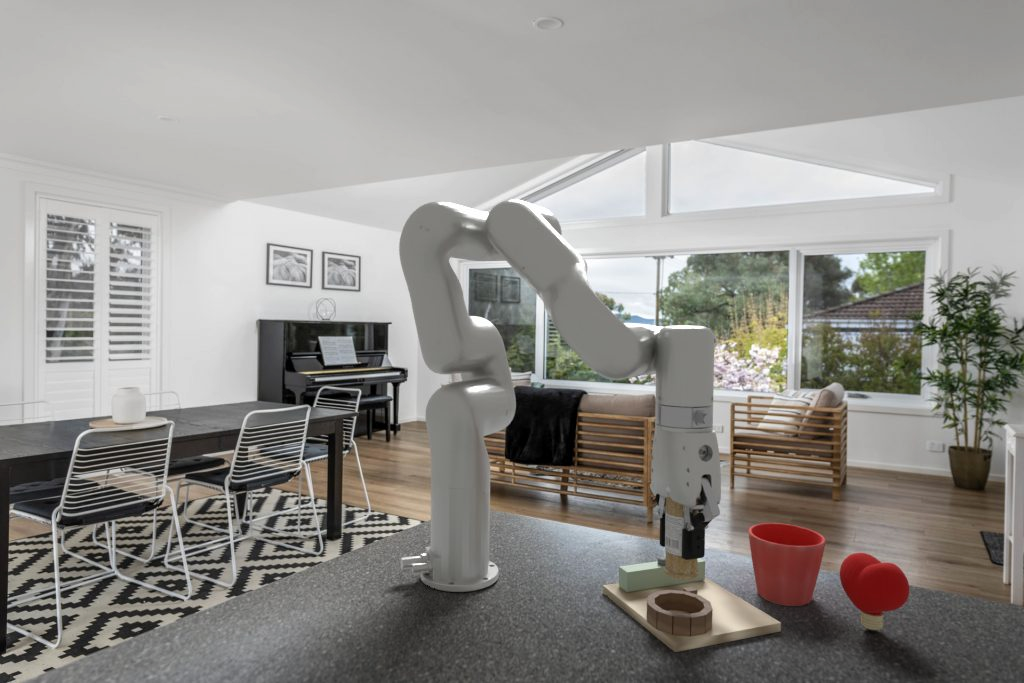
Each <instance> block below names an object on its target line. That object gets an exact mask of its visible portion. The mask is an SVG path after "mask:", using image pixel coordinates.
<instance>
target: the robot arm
mask: <svg viewBox="0 0 1024 683" xmlns="http://www.w3.org/2000/svg"><path fill="white" fill-rule="evenodd" d="M401 230H402V231H401V234H400V238H399V245H398V248H399V249H398V253H399V261H400V265H401V269H402V273H403V276H404V280H405V282H406V286H407V290H408V293H409V298H410V302H411V308H412V314H413V319H414V323H415V327H416V332H417V337H418V342H419V348H420V351H421V355H422V359H423V361H424V363H425V365H426V367H427V368H428V369H429V370H430V371H432V372H433V373H435V374H439V375H456V374H457V375H458V374H460V377H461V381H460V380H459V381H454V382H450V383H447V384H445V385H443V386H441V387H439V388H437V389H436V390H435V391H434V392H433V394H431V396H430V398H429V399H428V401H427V403H426V407H425V408H426V409H425V415H424V416H425V425H426V430H427V435H428V436H427V438H428V443H429V449H430V450H429V451H430V546H425V552H421V553H419V555H416V556H414V555H409V556H401V557H400V561H399V563H400V568H401V569H400V570H411V572H412V574H415V573H420V580H421V581H422V583H423V584H425V585H426V586H427V585H428V586H427V587H429V586H430V587H429V588H432V589H434V588H435V590H438V591H442V592H452V593H463V592H465V593H466V592H473V591H480V590H482V589H485V588H488V587H490V586H492V585H493V584H494V583H496V582H497V581H498V579H499V576H500V574H499V572H500V569H499V567H498V565H496V564H495V563H494V562H493V561H491V560H490V536H491V535H490V533H491V532H490V531H491V530H490V529H491V528H490V527H491V526H490V524H491V522H490V521H491V462H490V456H489V453H488V449H487V447H486V442H485V437H486V436H489V435H492V434H495V433H498V432H500V431H503V430H504V429H506V428H507V427H508V426H509V425H510V424H511V422H512V421H513V420H514V417H515V414H516V409H517V401H516V400H517V399H516V398H517V397H516V393H515V388H514V383H513V379H512V373H511V371H510V364H509V360H508V357H507V351H506V347H505V344H504V339H503V337H502V335H501V333H500V332H499V330H498V328H497V327H496V326H495V324H493V323H492V322H491V321H489V319H487V318H484V317H482V316H476V315H469V312H468V309H467V306H466V302H465V297H464V291H463V287H462V286H461V282H460V280H459V278H458V276H457V274H456V273H455V271H454V269H453V267H452V266H451V262H450V259H451V258H453V259H459V260H466V261H467V260H468V261H476V262H507V264H508V265H509V266H510V267H511V268H512V269H514V271H515V272H516V273H517V274H518V275H519V276H520V277H521V279H523V280H524V282H525V283H526V284H527V285H528V286H529V288H531V289H532V291H534V292H535V294H537V296H538V297H539V298H540V300H542V302H543V305H544V309H545V310H546V313H547V316H549V318H550V321H551V323H552V324H553V327H554V328H555V331H557V333H558V334H559V335H560V337H561V338H562V339H563V341H564V342H565V343H566V344H567V345H568V346H569V347H570V348H571V350H572V351H574V353H575V354H576V355H577V356H578V357H579V358H580V359H581V361H583V363H584V364H586V366H587V367H588V368H589V369H591V370H592V371H593V372H594V373H596V374H597V375H599V376H601V377H602V378H604V379H608V380H610V381H611V380H612V381H621V380H627V379H630V378H636V377H640V376H648V375H655V408H654V409H655V415H654V418H655V421H654V427H655V428H654V434H653V440H652V447H651V448H652V449H651V450H652V451H651V463H650V466H651V467H650V481H651V482H650V484H649V489H650V491H651V492H652V494H653V496H654V497H655V501H656V504H657V506H658V507H657V514H658V516H659V545H660V547H662V548H665V512H666V498H667V497H671V499H672V500H673V501H675V502H677V503H678V504H680V505H683V509H684V518H685V526H686V529H682V558H683V559H685V560H690V559H697V558H701V559H703V558H704V557H705V555H706V554H705V553H706V552H705V548H706V545H705V544H706V530H707V529H708V528H709V524H710V523H711V522H712V521H713V520H714V519H715V518H717V517H718V516H720V514H721V510H720V507H719V504H720V503H721V500H722V498H721V497H722V477H721V475H722V474H721V471H722V470H721V459H720V449H719V442H718V438H717V433H716V431H715V430H714V429H713V428H714V427H713V426H714V388H715V387H714V383H715V381H714V380H715V374H714V373H715V334H714V332H713V331H712V329H711V328H709V327H707V326H704V325H703V326H702V325H683V324H682V325H681V324H680V325H666V326H660V325H659V326H657V325H654V324H646V323H638V322H637V323H636V322H623V321H622V320H620V319H619V317H618V316H616V314H614V312H612V311H611V310H610V309H609V307H608V306H607V305H606V304H605V303H604V302H603V301H602V300H601V299H600V298H599V296H598V295H597V294H596V293H595V291H594V290H593V289H592V287H591V285H590V282H589V281H588V276H587V274H588V264H587V262H586V259H585V258H584V257H583V256H582V255H581V254H580V253H579V252H578V251H577V250H576V249H575V248H573V246H572V245H571V244H570V243H569V242H568V241H567V240H566V239H565V238H564V237H563V236H562V226H561V224H560V221H559V220H558V219H557V217H556V215H555V214H554V213H552V212H551V211H550V210H549V209H547V208H545V207H543V206H540V205H537V204H533V203H531V202H528V201H524V200H521V199H516V198H515V199H506V200H503V201H500V202H499V203H497V204H496V205H494V206H493V207H492V208H491V209H490V211H487V210H486V211H485V210H479V209H475V208H472V207H468V206H464V205H461V204H457V203H454V202H447V201H431V202H427V203H424V204H422V205H420V206H419V207H417V208H416V209H415V210H413V212H412V213H411V214H410V215H409V217H408V218H407V220H406V221H405V223H404V225H403V228H402V229H401ZM667 486H668V487H669V488H670V490H671V492H669V491H667V490H666V488H667ZM667 493H669V496H668V494H667ZM696 500H698V504H697V503H696ZM692 510H698V513H697V514H696V515H695V516H694V518H693V512H692Z"/></svg>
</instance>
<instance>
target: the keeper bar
mask: <svg viewBox="0 0 1024 683" xmlns="http://www.w3.org/2000/svg"><path fill="white" fill-rule="evenodd" d="M665 566H666V556H658V557H657V561H656V560H655V561H651V562H642V563H637V564H635V563H634V564H629V565H621V566H619V567H618V583H619V587H621V588H622V589H623V590H625V591H626V592H631V591H637V590H644V589H650V588H657V587H663V586H669V585H676V584H682V583H689V582H695V581H702V580H705V577H706V560H704V559H703V558H698V576H697V577H696V578H693V579H689V580H680V579H676V578H672V577H670V576H668V575H667V574H666V573H665V571H664V570H665Z"/></svg>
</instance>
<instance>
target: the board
mask: <svg viewBox="0 0 1024 683" xmlns="http://www.w3.org/2000/svg"><path fill="white" fill-rule="evenodd" d="M603 593H604V595H605V596H606V595H607V596H608V597H609V598H608V597H607V596H606V597H607V598H608V599H609V600H611V601H612V600H613V601H612V603H614V602H615V603H614V604H616V605H617V606H618V607H619V608H621V610H623V611H624V612H626V613H627V614H628V615H629V616H630V617H631V618H632V619H634V620H635V621H636V622H637V623H638V624H640V625H641V626H642V627H644V628H645V629H646V630H647V631H648V632H650V634H652V635H653V636H654V637H655V638H657V639H658V640H659V641H661V642H662V643H663V644H664V645H665V646H666V647H668V648H669V649H670V650H672V651H673V652H674V653H678V652H684V651H688V650H694V649H699V648H705V647H709V646H714V645H718V644H724V643H729V642H733V641H739V640H744V639H750V638H754V637H759V636H763V635H768V634H770V635H771V634H774V633H779V632H782V622H781V621H779V620H777V619H776V618H774V617H773V616H771V615H769V614H767V613H766V612H764V611H763V610H760V609H759V608H757V607H755V606H754V605H752V604H751V603H750V602H747V601H745V600H744V599H742V598H741V597H739V596H738V595H735V594H734V593H732V592H731V591H729V590H727V589H726V588H724V587H722V586H721V585H719V584H718V583H715V582H714V581H712V580H711V579H709V578H707V577H706V576H705V580H702V581H695V582H689V583H682V584H676V585H669V586H663V587H657V588H650V589H644V590H637V591H631V592H626V591H625V590H623V589H622V588H621V587H619V582H618V583H611V584H610V583H609V584H603V585H602V594H603Z"/></svg>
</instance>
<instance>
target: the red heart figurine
mask: <svg viewBox="0 0 1024 683" xmlns="http://www.w3.org/2000/svg"><path fill="white" fill-rule="evenodd" d="M839 579H840V584H841V586H842V589H843V591H844V592H845V595H846V596H847V597H848V599H849V601H850V602H851V603H852V604H853V606H854V607H855V608H856V609H858V610H859V611H860V615H861V616H860V624H861V626H863V627H864V628H866V630H867V631H868V632H871V633H876V632H877V631H879V630H881V629H883V626H884V616H885V612H891V611H895V610H898V609H900V608H901V607H903V606H904V605H905V604H906V603H907V602H908V599H909V596H910V584H909V580H908V578H907V576H906V574H905V573H904V571H903V570H902V568H900V567H899V565H897V564H895V563H893V562H881V561H880V560H879V559H878V558H876V557H875V556H873V555H871V554H869V553H866V552H856V553H855V552H854V553H851V554H850V555H848V556H847V557H845V558H844V560H842V563H841V565H840V568H839Z"/></svg>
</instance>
